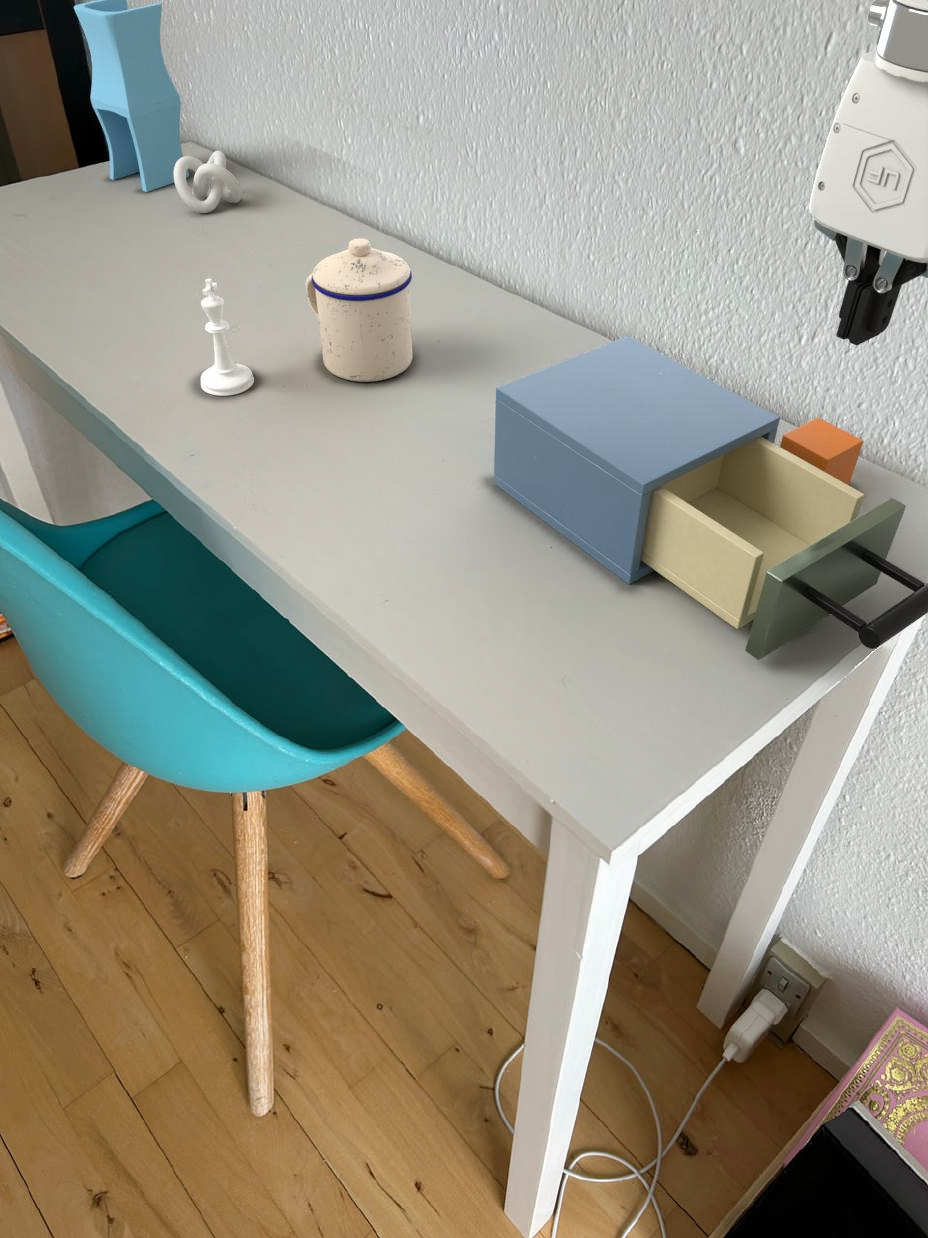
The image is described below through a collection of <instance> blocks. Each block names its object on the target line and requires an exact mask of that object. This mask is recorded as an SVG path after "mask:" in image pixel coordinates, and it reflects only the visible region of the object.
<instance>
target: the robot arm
mask: <svg viewBox="0 0 928 1238" xmlns="http://www.w3.org/2000/svg"><path fill="white" fill-rule="evenodd" d="M867 13H868V14H867V23H868V24H869V25H871V26H876V28H877V29H878V30H879V33H878V36H877V40H876V45H877V48H876V50H872V51H868V52H865V53H863V54H862V56H861V57H860V59H859V61H858V64H857V66H856V67H855V70H854V72H853V74H852V76H851V78H850V80H849V83H848V85H847V87H846V89H845V91H844V93H843V96H842V99H841V100H840V103H839V106H838V108H837V110H836V113H835V116H834V118H833V121H832V124H831V127H830V129H829V133H828V136H827V139H826V142H825V145H824V148H823V151H822V155H821V157H820V159H819V160H820V161H819V163H818V168H817V171H816V174H815V178H814V182H813V185H812V189H811V193H810V198H809V206H808V207H809V213H810V215H811V217H812V218H813V223H814V224H813V225H814V228H815V229H816V230H818V231H819V232H820V233H821V234H822V235H824V236H825V237H827V238H828V239H829V240H831V241H832V242H835V244H836V247H837V249H838V252H839V254H840V257H841V259H842V261H843V268H842V275H843V277H844V278H845V279H846V280H847V285H846V288H845V291H844V295H843V297H842V302H841V305H840V308H839V312H838V318H839V319H840V320H839V324H838V328H837V331H836V338H839V339H841V340H848V342H849V343H850V344H852V345H854V346H856V347H857V346H859V345H861V344H864V343H865V342H868V341H870V340H871V339H874V338H875V337H877V336H879V335H880V334H881V333H883V332H885V330H887V328H888V326H889V325H890V323H891V319H892V316H893V313H894V310H895V307H896V304H897V301H898V298H899V295H900V292H901V289H902V287H903V286H902V285H905V284H906V283H908V282H910V281H912V280H914V279H916V278H918V277H923V278H926V279H928V0H875V1H874V2H873V3H872V4H871V6H870V8H869V10H868V12H867ZM885 252H886V253H885Z"/></svg>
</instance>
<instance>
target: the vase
mask: <svg viewBox="0 0 928 1238" xmlns="http://www.w3.org/2000/svg"><path fill="white" fill-rule="evenodd" d="M73 9H74V12H75V14H76V16H77V18H78V20H79V23H80V25H81V28H82V30H83V33H84V35H85V39H86V41H87V44H88V45H87V46H88V49H89V53H90V59H91V89H90V103H91V106H92V109H93V111H94V112H95V115H96V117H97V119H98V121H99V123H100V125H101V128H102V131H103V133H104V136H105V139H106V142H107V146H108V153H109V155H108V156H109V179H110V180H112V181H116V180H118V179H122V178H124V177H127V176H130V175H133V174H137V173H139V177H140V183H141V190H142V191H143V192H145V193H149V192H152V191H154V190H157V189H160V188H163V187H165V186H169V185H171V184H175V182H174V167H175V164H176V162H177V161H178V160H179V159H180V158H181V157H184V154H183V150H182V143H181V136H180V135H181V134H180V128H181V127H180V126H181V125H180V124H181V123H180V122H181V109H182V107H181V106H182V102H181V101H182V100H181V96H180V94H179V92H178V90H177V87H175V85H174V82H173V81H172V78H171V76H170V74H169V72H168V69H167V67H166V64H165V61H164V60H165V59H164V57H163V53H162V45H161V44H162V43H161V22H162V12H163V4H162V3H157V2H156V3H152V4H148V5H144V6H138V7H133V8H130V9H129V8H128V0H94V1H88V2H83V3H79V4H76V5H74V6H73ZM189 177H190V173H189V169H187V171H186V179H187V178H189Z"/></svg>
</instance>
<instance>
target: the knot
mask: <svg viewBox="0 0 928 1238" xmlns="http://www.w3.org/2000/svg"><path fill="white" fill-rule="evenodd" d="M226 167H227V159H226V154H225V153H224V152H223V151H221V150H215V151H214V152H213V153H212V154H211V155H210V157H209V158H208V161H206V163H204V162H202V161H201V160H200V159H198V158H196V157H193V156H191V155H185V156H184V155H183V157H181V158H180V159H179V160H178V161H177V162H176V164H175V167H174V185H175V189H176V191H177V193H178V195H179V197H180V199H181V200H182V202H184V204H185V205H186V206H187V207H188V208H189V209H191V210H192V211H194V212H196V213H199V214H208V213H211V212H212V211H214V210H215V209H216V208H217V207H218V205H219V203H220V202H221V200H223V201H225V202H227V203H230V204H238V203H239V202H241V201H242V199H243V189H242V186H241V184H240V182H239V181H238V179H237V178H236V177H235V176H234V174H233V173H231V171H229V170H228V169H227V168H226ZM187 170H192V171H193V172H195V173H194V175H193V180H192V188H191V189H192V190H191V189H190V187H189V185H188V182H187V178H186V171H187ZM209 189H210V191H209ZM208 192H209V194H208ZM207 194H208V196H207ZM206 196H207V197H206Z"/></svg>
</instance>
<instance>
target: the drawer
mask: <svg viewBox="0 0 928 1238" xmlns="http://www.w3.org/2000/svg"><path fill="white" fill-rule="evenodd" d="M864 498H865V493H863V492H861V491H859V490H857V489H856V488H854V487H852V486H850V484H849V485H847V484H845V483H843V482H842V481H840V480H838V479H836V478H834V477H833V476H831V475H829V474H827V473H825V472H824V471H822V470H820V469H818V468H816V467H815V466H813V465H811V464H809V463H808V462H806V461H804V460H802V459H800V458H799V457H797V456H795V455H793V454H791V453H790V452H788V451H786V450H784V449H782V448H781V447H780V446H779V445H777V444H775V442H774V443H772V442H770V441H768V440H766V439H765V438H763V437H761V436H760V437H758V438H756V439H754V440H752V441H750V442H748V443H746V444H744V445H742V446H740V447H738V448H736V449H734V450H732V451H730V452H728V453H726V454H724V455H722V456H720V457H718V458H716V459H714V460H712V461H710V462H708V463H706V464H704V465H702V466H700V467H698V468H696V469H694V470H692V471H690V472H688V473H686V474H684V475H682V476H680V477H678V478H676V479H674V480H672V481H670V482H668V483H666V484H664V485H662V486H660V487H658V488H656V489H654V490H652V491H651V497H650V503H649V510H648V516H647V522H646V529H645V535H644V541H643V548H642V554H641V561H643V562H644V563H646V564H647V565H648V566H650V567H651V568H653V569H654V570H655V571H654V572H657V573H658V574H659V575H661V576H662V577H663V578H665V579H666V580H668V581H669V582H671V583H672V584H673V585H675V586H676V587H677V588H679V589H680V590H682V591H683V592H684V593H686V594H687V595H689V596H690V597H691V598H693V600H695V601H697V602H698V603H700V604H701V605H703V607H705V608H706V609H708V610H710V611H711V612H712V613H714V614H715V615H716V616H718V617H719V618H720V619H722V620H723V621H724V622H726V623H727V624H729V625H730V626H732V627H733V628H735V629H736V630H739V629H740V628H742V627H744V626H746V625H747V624H749V623H750V622H752V623H751V628H750V631H749V635H748V638H747V642H746V646H745V649H744V650H745V652H746V653H747V654H749V655H750V656H752V657H753V658H754V659H756V660H757V661H760V660H762V659H763V658H765V657H767V656H768V655H769V654H771V653H773V652H774V651H776V650H778V649H779V648H780V647H782V646H784V645H785V644H787V643H788V642H790V641H791V640H793V639H794V638H796V637H797V636H799V635H801V634H802V633H804V632H805V631H807V630H809V629H810V628H811V627H813V626H814V625H816V624H818V623H819V622H820V621H822V620H823V619H825V618H827V617H828V616H830V615H831V616H832V617H834V618H836V619H837V620H838V621H840V622H842V623H843V624H844V625H846V626H848V627H849V628H851V629H852V630H854V631H855V632H856V633H857V636H858V640H859V642H860V643H861V645H863V647H865V648H867V649H869V650H875V649H878V648H879V647H881V646H882V645H883V644H885V643H886V642H888V641H889V640H891V639H893V638H894V637H895V636H896V635H898V634H899V633H901V632H903V631H904V630H905V629H907V628H908V627H910V626H911V625H912V624H914V623H916V622H917V621H918V620H920V619H921V618H923V617H924V616H925V615H926V614H928V582H927V583H925V582H923V581H922V580H920V579H919V578H917V577H915V576H913V575H912V574H910V573H908V572H906V570H904V569H902V568H900V567H899V566H897V565H895V564H893V563H892V562H890V561H888V560H887V558H888V555H889V552H890V550H891V547H892V545H893V542H894V540H895V537H896V534H897V531H898V529H899V527H900V523H901V521H902V518H903V516H904V513H905V511H906V508H907V505H906V504H904V503H902V502H900V501H899V500H897V499H895V498H893V497H890V498H888V499H886V500H884V501H883V502H881V503H880V504H878V505H876V506H875V507H873V508H871V509H869V510H867V511H866V512H864V513H863V514H861V515H859V512H860V510H861V507H862V504H863V501H864ZM881 573H883V574H884V575H885V576H888V577H889V578H891V579H893V580H894V581H895V582H898V583H899V584H900V585H903V586H904V587H906V588H907V589H908V590H911V592H912V593H911V594H909V595H908V596H906V597H905V598H902V600H900V601H899V602H897V603H896V604H894V605H893V606H891V607H890V608H889V609H887V610H886V611H884V612H882V613H881V614H879V615H878V616H876V617H875V618H874V619H872V620H870V621H869V622H867V621H865V620H864V619H863V618H861V617H859V616H857V615H856V614H855V613H853V612H852V611H850V610H849V609H847V608H845V607H844V606H845V605H847V604H848V603H849V602H851V601H852V600H854V599H856V598H857V597H859V596H860V595H862V594H864V593H865V592H866V591H869V589H871V588H874V586H875V585H877V583H878V582H879V578H880V576H881Z"/></svg>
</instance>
